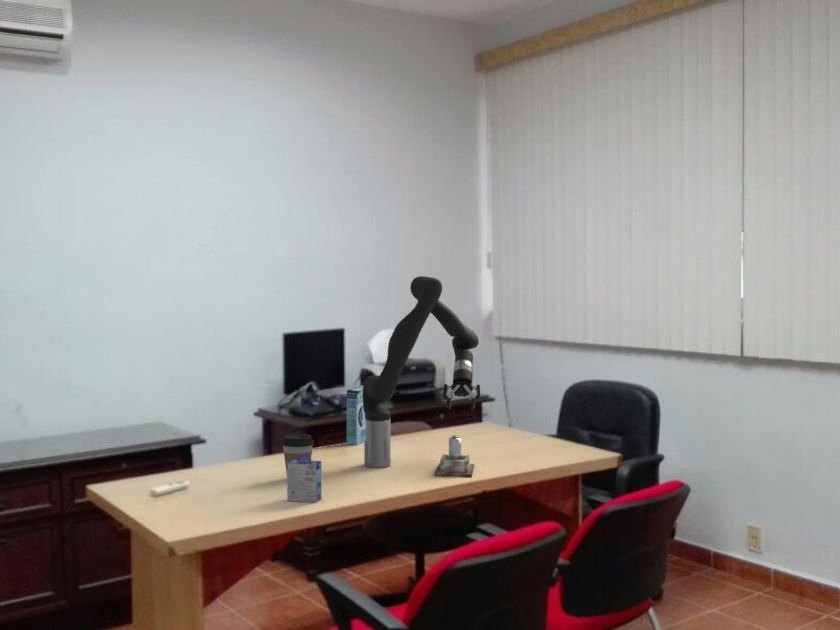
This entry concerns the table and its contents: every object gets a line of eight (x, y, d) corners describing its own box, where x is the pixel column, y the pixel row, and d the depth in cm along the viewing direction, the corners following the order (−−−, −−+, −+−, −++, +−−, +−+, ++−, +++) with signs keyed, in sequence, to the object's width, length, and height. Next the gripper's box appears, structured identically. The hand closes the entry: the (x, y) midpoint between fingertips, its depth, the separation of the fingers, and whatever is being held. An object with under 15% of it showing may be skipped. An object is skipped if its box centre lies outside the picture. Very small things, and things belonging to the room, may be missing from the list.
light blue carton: (364, 436, 374) (364, 384, 373) (375, 436, 373) (374, 384, 372) (346, 444, 356) (345, 389, 355) (357, 445, 354) (357, 390, 353)
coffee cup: (305, 484, 290) (304, 440, 289) (275, 481, 294) (274, 438, 293) (320, 476, 300) (320, 434, 300) (291, 474, 304) (291, 432, 303)
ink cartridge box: (322, 498, 272) (322, 453, 271) (316, 503, 266) (316, 456, 266) (292, 496, 274) (292, 451, 273) (286, 501, 268) (286, 455, 268)
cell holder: (434, 476, 301) (434, 461, 301) (439, 465, 317) (439, 452, 317) (471, 477, 300) (471, 462, 300) (474, 466, 316) (474, 453, 316)
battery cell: (448, 469, 307) (448, 437, 306) (449, 466, 311) (449, 434, 311) (460, 470, 306) (460, 437, 306) (461, 467, 311) (461, 434, 310)
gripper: (444, 367, 331) (441, 402, 320) (481, 368, 329) (479, 402, 318) (445, 379, 336) (442, 413, 325) (481, 380, 334) (480, 414, 324)
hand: (460, 408), depth 322 cm, fingers open, 8 cm apart
